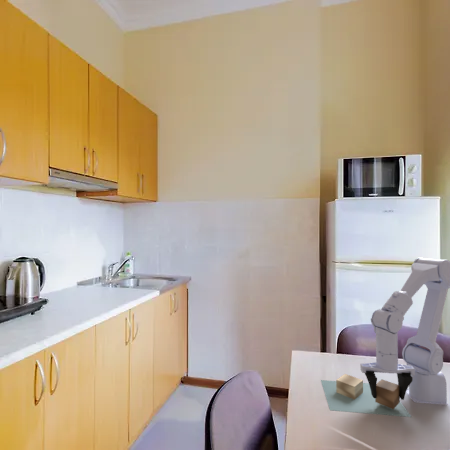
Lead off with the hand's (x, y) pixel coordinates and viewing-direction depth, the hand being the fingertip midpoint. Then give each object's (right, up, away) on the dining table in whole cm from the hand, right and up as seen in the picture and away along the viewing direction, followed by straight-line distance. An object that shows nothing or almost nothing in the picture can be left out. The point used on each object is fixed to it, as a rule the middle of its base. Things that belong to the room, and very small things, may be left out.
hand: (387, 397), depth 91 cm
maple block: (-8, -3, +8) cm, 12 cm away
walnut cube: (0, -2, 0) cm, 2 cm away
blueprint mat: (-5, -3, +6) cm, 8 cm away
